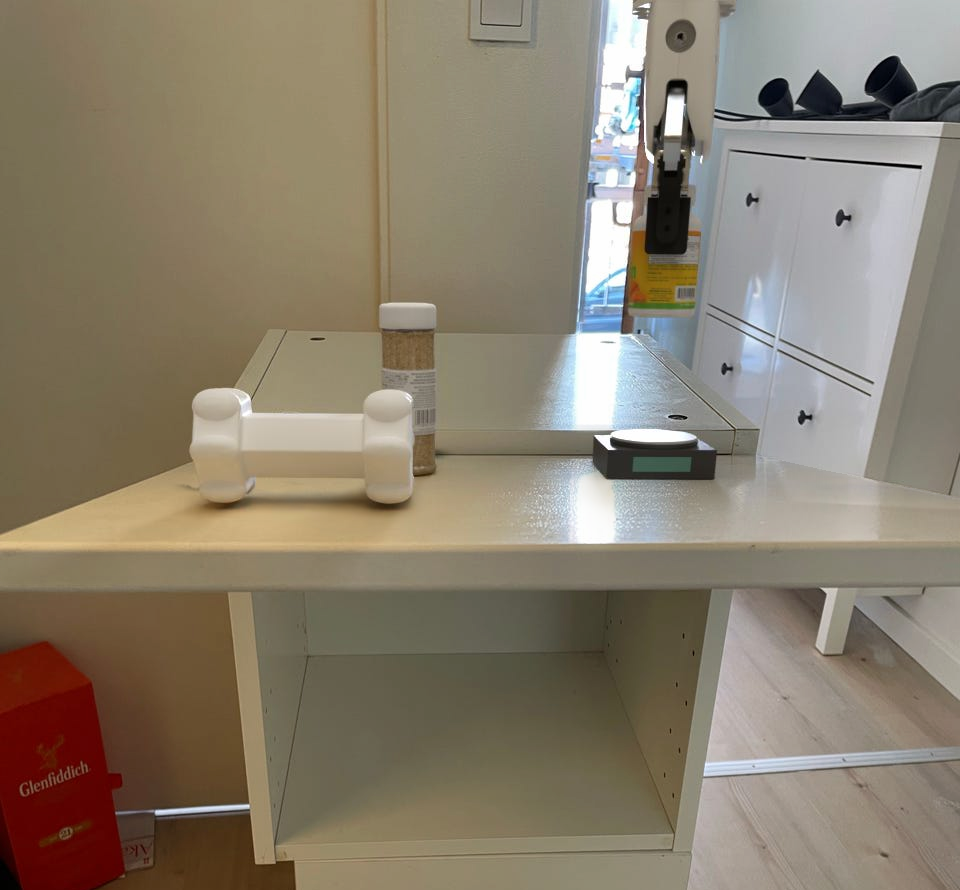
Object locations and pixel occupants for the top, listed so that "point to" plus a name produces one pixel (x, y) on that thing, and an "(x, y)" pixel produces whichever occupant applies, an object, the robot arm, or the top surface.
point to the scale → (653, 455)
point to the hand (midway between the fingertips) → (665, 252)
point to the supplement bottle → (664, 272)
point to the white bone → (302, 445)
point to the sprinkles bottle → (412, 371)
